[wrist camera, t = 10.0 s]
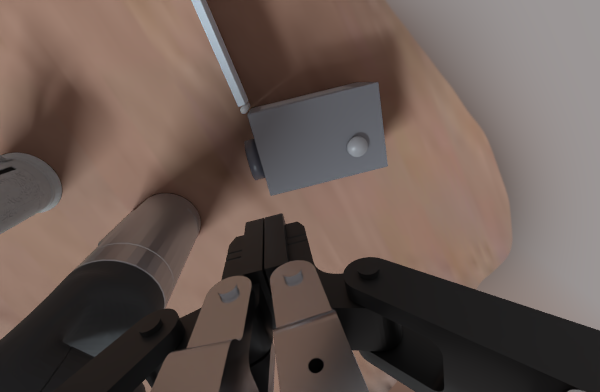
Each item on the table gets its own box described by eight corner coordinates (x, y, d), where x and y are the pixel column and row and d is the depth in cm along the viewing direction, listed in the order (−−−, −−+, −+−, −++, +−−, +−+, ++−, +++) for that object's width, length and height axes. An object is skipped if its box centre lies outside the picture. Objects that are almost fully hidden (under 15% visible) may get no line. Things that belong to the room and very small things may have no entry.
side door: (251, 107, 39) (248, 112, 32) (239, 112, 39) (233, 118, 33) (193, -29, 33) (176, -56, 26) (179, -23, 33) (158, -49, 27)
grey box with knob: (259, 178, 43) (258, 200, 35) (239, 110, 39) (232, 118, 31) (366, 151, 43) (389, 167, 35) (357, 81, 40) (380, 81, 32)
